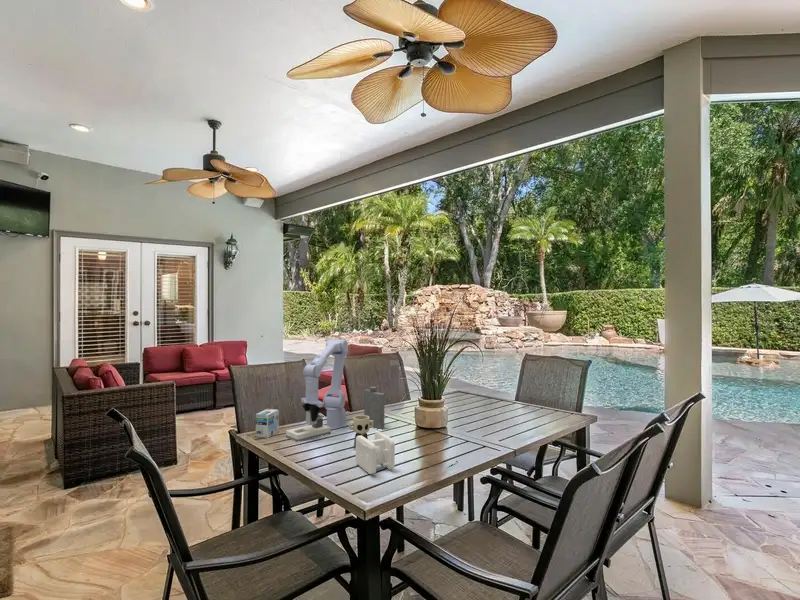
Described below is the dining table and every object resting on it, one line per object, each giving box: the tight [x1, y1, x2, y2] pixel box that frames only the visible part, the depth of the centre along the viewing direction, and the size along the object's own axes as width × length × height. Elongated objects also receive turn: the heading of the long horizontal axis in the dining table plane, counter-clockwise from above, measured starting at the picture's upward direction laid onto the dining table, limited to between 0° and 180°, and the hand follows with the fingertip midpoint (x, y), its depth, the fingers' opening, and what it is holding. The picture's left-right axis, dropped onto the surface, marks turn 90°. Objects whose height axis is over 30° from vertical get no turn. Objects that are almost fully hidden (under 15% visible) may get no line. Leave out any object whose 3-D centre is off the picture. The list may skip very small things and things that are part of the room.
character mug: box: [348, 414, 373, 448], centre depth 188 cm, size 11×7×13 cm, turn 111°
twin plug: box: [312, 416, 324, 428], centre depth 208 cm, size 4×3×4 cm
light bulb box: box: [255, 408, 280, 439], centre depth 205 cm, size 11×7×11 cm, turn 168°
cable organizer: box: [355, 431, 396, 475], centre depth 164 cm, size 15×11×12 cm
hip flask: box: [363, 386, 385, 430], centre depth 220 cm, size 16×4×20 cm, turn 37°
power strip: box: [285, 424, 332, 443], centre depth 204 cm, size 18×10×3 cm, turn 135°
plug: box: [305, 410, 317, 426], centre depth 199 cm, size 4×3×6 cm
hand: (311, 420), depth 199 cm, fingers closed on plug, 3 cm apart
